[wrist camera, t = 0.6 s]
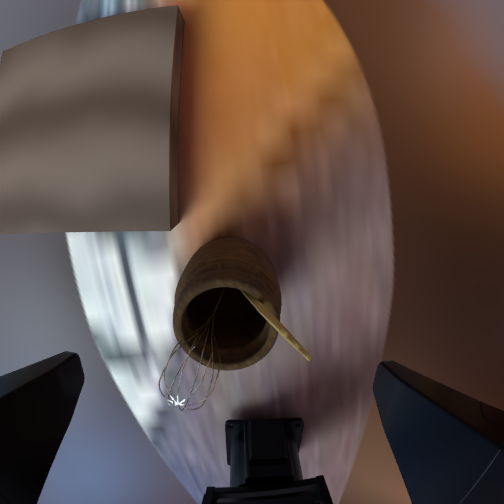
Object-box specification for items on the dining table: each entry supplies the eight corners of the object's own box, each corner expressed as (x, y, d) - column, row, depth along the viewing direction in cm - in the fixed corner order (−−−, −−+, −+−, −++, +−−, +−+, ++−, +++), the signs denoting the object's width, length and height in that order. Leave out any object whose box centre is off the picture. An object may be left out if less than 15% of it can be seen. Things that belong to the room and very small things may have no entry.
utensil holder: (168, 273, 21) (100, 383, 9) (238, 212, 20) (233, 275, 8) (226, 333, 22) (216, 468, 11) (295, 279, 21) (348, 395, 10)
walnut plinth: (178, 223, 20) (170, 231, 18) (15, 227, 20) (-4, 234, 17) (184, 21, 16) (177, 5, 14) (20, 58, 16) (2, 51, 14)
